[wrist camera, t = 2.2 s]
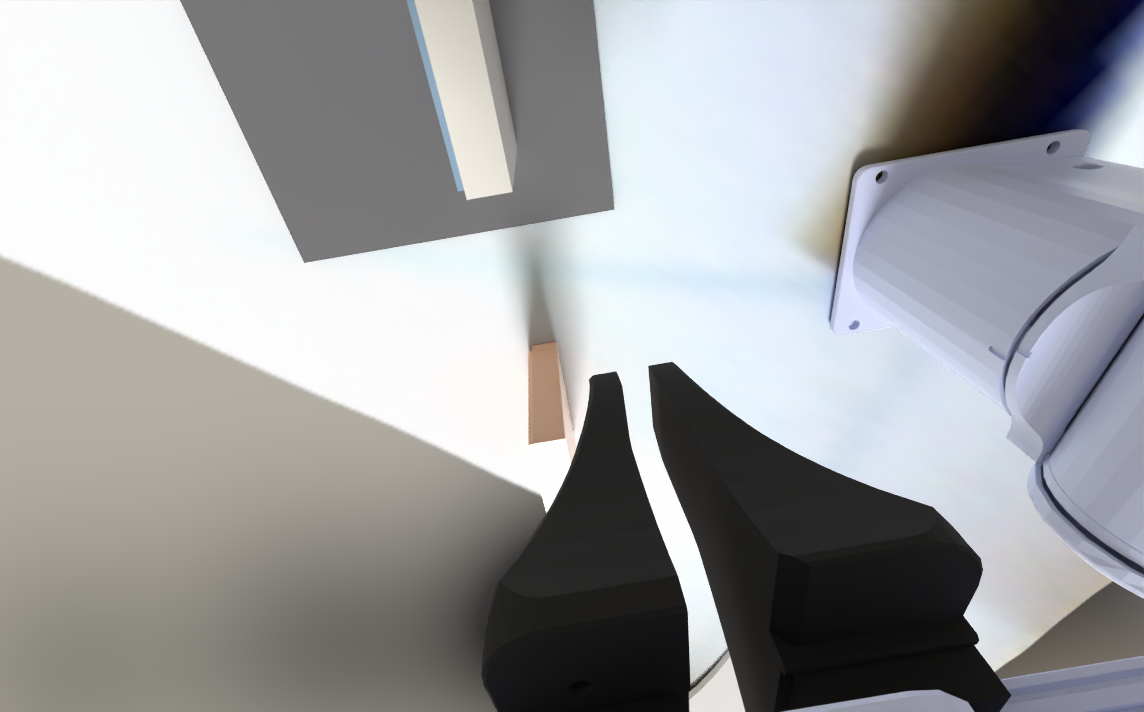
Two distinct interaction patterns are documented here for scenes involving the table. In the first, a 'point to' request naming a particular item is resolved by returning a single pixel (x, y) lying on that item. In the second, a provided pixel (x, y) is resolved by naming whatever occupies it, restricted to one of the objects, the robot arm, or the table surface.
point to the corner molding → (717, 690)
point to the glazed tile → (468, 92)
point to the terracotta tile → (549, 421)
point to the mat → (403, 118)
